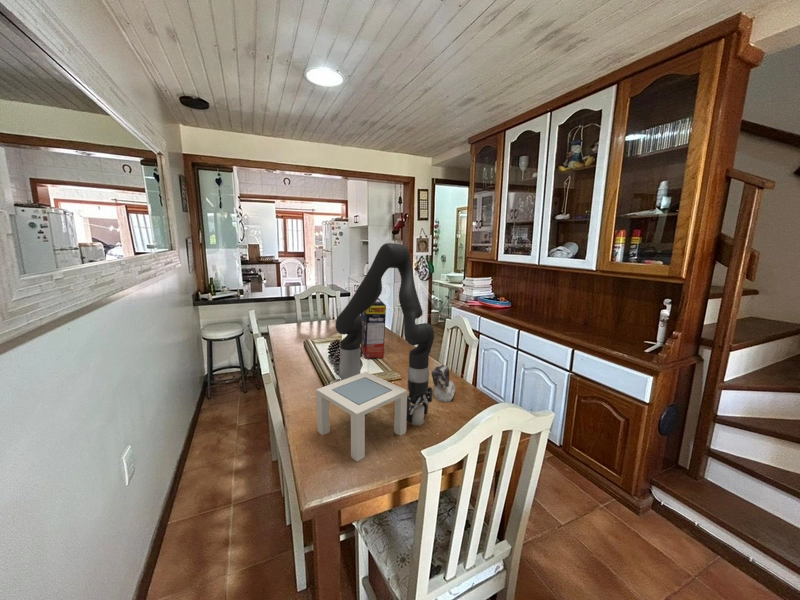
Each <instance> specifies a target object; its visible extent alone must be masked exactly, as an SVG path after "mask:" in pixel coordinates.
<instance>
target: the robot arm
mask: <svg viewBox="0 0 800 600" xmlns="http://www.w3.org/2000/svg"><path fill="white" fill-rule="evenodd" d="M389 269H397V270H398V272H399V275H400V286H399V291H398V301H399V306H400V308H401V311H402V312H401V313H402V315H403V330H404V331H403V332H404V333H403V334H404V338H405V340H406V342H407V343H408V344H409V345H410V346H416V347H415V348H413V349H411V350H410V351H409V354H408V355H409V356H408V359H409V360H408V369H407V370H408V371H407V391H408V392H409V393H408V396H407V418H406V423H408V424H411V423H412V415H413V414H412V413H413V410H414V409H416V407H417V405H418V404H422V405H423V406H424V416H426V415H428V412H429V411H428V410H429V405H430V403H432V402H433V388H432V387H430V386H429V380H430V379H429V377H430V374H429V373H430V372H429V361H430V360H429V357H430V353H431V350H432V346H433V343H434V339H435V331H434V330H435V329H434V328H433V326H432V325H431V324H430V323H427V322H424V323H416V319H419V318H421V317H422V315H423V307H422V306H421V303H420V299H419V296H418V293H417V292H418V291H417V289H416V284H415V278H414V271H413V265H412V258H411V255H410V251H409V248H408V247H407V246H406V245H404V244H402V243H393V242H386V243H384V244H383V245H381V246H380V247H379V249H378V251H377V252H376V255H375V257H374V259H373V262H372V263H371V266H370V268H369V269H368V271H367V272H366V275H365V276H364V278H363V279H362V281H361V283H360V284H359V285H358V287H357V289H356V290H355V292H354V294H353V295H352V297H351V299H350V300H349V302H348V303H347V305H346V306H345V307H344V308H343V310H342V311H341V313H339V315H338V316H337V318H336V319H335V329H336V332H337V333H338V334H340V335H346V336H345V337H344V338H342V340H341V341H340V343H339V351H340V353H339V354H340V355H339V356H340V357H339V363H338V364H339V369H338V370H339V379H340V378H341V380H344V379H347V378H349V377H352V376H355V375H358V374H360V373H361V347H360V344H361V341H362V326H363V325H362V318H361V314H362V313H363V312H364V311H366V310H367V309H368V308H370V307H371V306H372V305H373V304H374V303H375V302H376V300H377V299H378V298H379V297H380V296H381V294H382V292H383V283H382V282H383V281H382V279H383V276H384V275H385V273H386V272H387V271H388V270H389ZM412 404H414V405H413V406H412ZM410 407H411V410H410ZM411 425H412V424H411Z"/></svg>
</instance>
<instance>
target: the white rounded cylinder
mask: <svg viewBox="0 0 800 600" xmlns="http://www.w3.org/2000/svg"><path fill="white" fill-rule="evenodd" d="M422 404H423V403H419V404H418V405H417V407H416V409H414V410H413V413H412V414H413V415H412V423H411V425H413V426H417V425H418V426H422V425H423V424H424V422H425V414H424V406H423V405H422ZM411 405H412V406H413V405H414V404H412V403H411ZM409 410H411V407H410V408H409Z"/></svg>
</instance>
